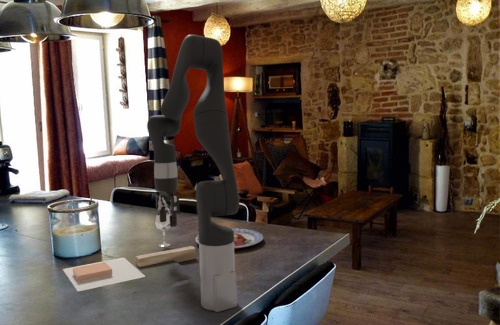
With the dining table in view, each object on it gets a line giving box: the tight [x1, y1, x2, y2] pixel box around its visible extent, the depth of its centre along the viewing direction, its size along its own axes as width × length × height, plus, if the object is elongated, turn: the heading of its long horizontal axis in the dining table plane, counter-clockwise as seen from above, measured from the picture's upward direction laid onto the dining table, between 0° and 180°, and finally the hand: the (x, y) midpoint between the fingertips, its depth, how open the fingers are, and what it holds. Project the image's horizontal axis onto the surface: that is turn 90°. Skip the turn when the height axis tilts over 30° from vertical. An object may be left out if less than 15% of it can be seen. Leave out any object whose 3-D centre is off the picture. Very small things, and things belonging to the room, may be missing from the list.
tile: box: [73, 262, 112, 282], centre depth 147 cm, size 8×2×10 cm
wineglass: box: [155, 212, 172, 248], centre depth 179 cm, size 6×6×12 cm
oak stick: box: [135, 245, 197, 268], centre depth 160 cm, size 3×20×4 cm, turn 120°
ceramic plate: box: [195, 227, 264, 250], centre depth 182 cm, size 26×26×3 cm
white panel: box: [62, 256, 146, 292], centre depth 149 cm, size 22×20×1 cm
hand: (168, 224), depth 158 cm, fingers open, 8 cm apart
